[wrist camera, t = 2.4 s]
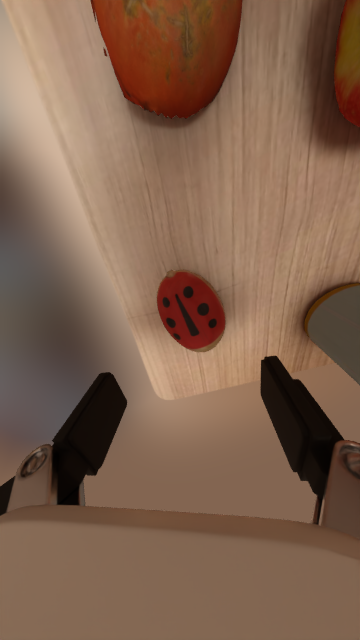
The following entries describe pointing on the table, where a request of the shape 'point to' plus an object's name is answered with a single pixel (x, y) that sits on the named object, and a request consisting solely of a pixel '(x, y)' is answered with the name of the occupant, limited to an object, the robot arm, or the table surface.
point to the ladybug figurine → (191, 310)
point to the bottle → (338, 327)
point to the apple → (348, 63)
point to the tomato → (170, 50)
